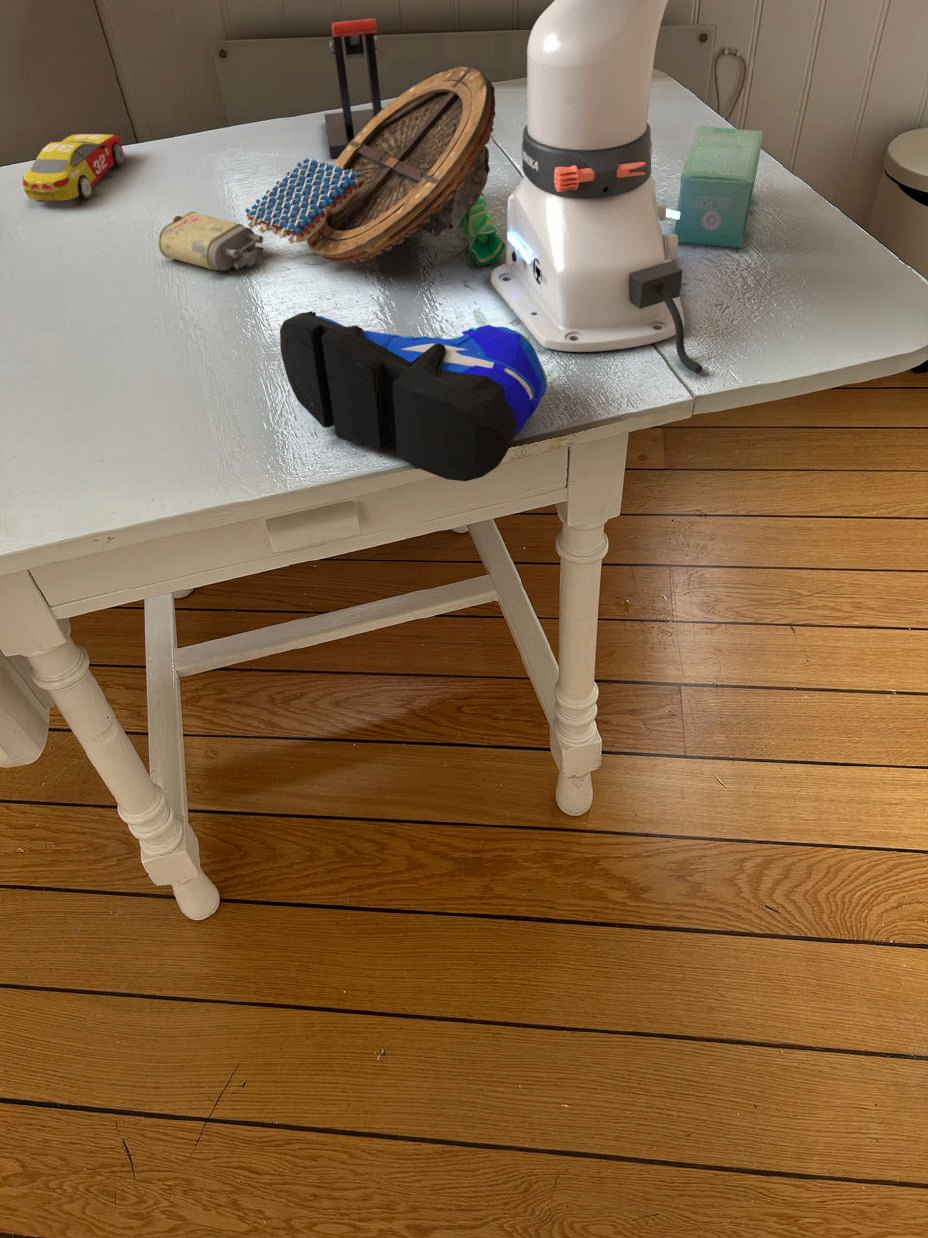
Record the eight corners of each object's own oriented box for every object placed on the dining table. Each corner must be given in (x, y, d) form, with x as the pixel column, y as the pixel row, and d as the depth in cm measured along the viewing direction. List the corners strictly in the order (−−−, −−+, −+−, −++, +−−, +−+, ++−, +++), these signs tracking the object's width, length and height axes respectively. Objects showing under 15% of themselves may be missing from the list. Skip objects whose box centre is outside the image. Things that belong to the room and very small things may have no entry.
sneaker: (266, 409, 82) (375, 345, 91) (488, 503, 72) (585, 421, 81) (251, 308, 76) (369, 250, 85) (492, 397, 66) (597, 320, 75)
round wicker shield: (450, 71, 107) (300, 233, 112) (433, 47, 105) (282, 214, 110) (542, 110, 89) (359, 303, 93) (524, 83, 87) (338, 281, 91)
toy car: (133, 154, 126) (122, 115, 122) (78, 211, 114) (64, 170, 110) (80, 153, 127) (67, 114, 123) (20, 210, 115) (4, 168, 112)
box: (671, 245, 100) (680, 173, 95) (687, 192, 109) (696, 124, 103) (742, 251, 99) (755, 178, 93) (751, 197, 107) (764, 128, 102)
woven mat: (313, 168, 104) (304, 152, 103) (371, 185, 98) (363, 168, 96) (246, 228, 102) (237, 212, 100) (302, 249, 96) (292, 232, 94)
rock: (433, 278, 98) (516, 259, 101) (431, 177, 90) (521, 160, 93) (368, 217, 108) (445, 201, 111) (361, 122, 101) (444, 108, 104)
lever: (377, 36, 108) (374, 11, 107) (334, 40, 108) (331, 16, 107) (374, 56, 120) (372, 34, 119) (335, 60, 119) (332, 38, 118)
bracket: (406, 150, 122) (396, 38, 113) (330, 158, 121) (314, 47, 112) (397, 117, 130) (387, 11, 121) (325, 125, 129) (310, 19, 120)
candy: (472, 178, 104) (492, 207, 107) (447, 197, 105) (467, 225, 108) (489, 223, 96) (510, 254, 99) (462, 244, 97) (484, 273, 100)
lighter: (161, 262, 103) (232, 282, 100) (152, 228, 101) (224, 247, 97) (204, 236, 108) (273, 254, 104) (196, 203, 105) (267, 220, 101)
